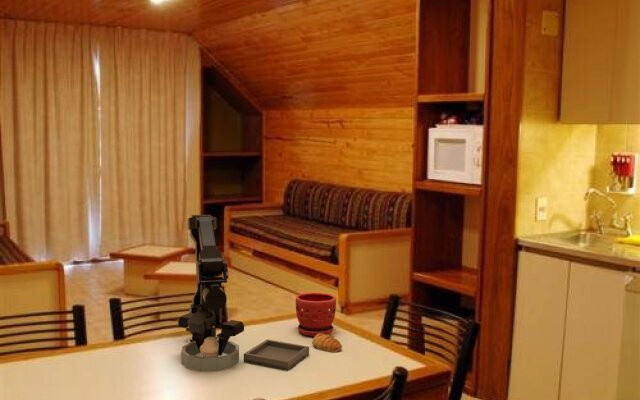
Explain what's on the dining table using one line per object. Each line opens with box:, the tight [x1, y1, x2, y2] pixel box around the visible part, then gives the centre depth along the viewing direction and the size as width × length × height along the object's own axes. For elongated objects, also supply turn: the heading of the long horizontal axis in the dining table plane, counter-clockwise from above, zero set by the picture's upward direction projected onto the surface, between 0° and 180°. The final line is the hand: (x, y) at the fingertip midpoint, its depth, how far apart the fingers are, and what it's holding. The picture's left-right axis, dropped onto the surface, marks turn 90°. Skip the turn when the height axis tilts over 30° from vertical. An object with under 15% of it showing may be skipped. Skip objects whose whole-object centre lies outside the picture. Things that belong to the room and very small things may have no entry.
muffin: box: [200, 337, 220, 358], centre depth 187 cm, size 6×6×7 cm
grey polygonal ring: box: [180, 339, 240, 372], centre depth 187 cm, size 16×16×4 cm
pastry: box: [311, 333, 343, 353], centre depth 200 cm, size 9×7×4 cm
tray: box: [243, 338, 310, 372], centre depth 190 cm, size 14×14×2 cm
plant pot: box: [295, 292, 337, 337], centre depth 214 cm, size 13×13×12 cm
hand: (210, 353), depth 187 cm, fingers closed on muffin, 6 cm apart
